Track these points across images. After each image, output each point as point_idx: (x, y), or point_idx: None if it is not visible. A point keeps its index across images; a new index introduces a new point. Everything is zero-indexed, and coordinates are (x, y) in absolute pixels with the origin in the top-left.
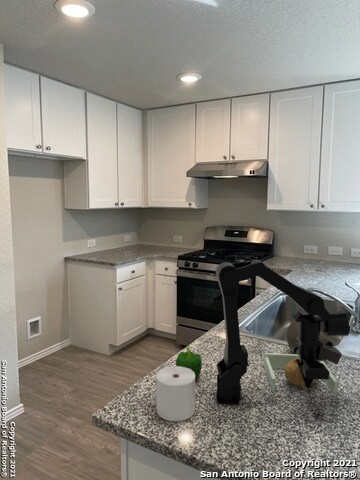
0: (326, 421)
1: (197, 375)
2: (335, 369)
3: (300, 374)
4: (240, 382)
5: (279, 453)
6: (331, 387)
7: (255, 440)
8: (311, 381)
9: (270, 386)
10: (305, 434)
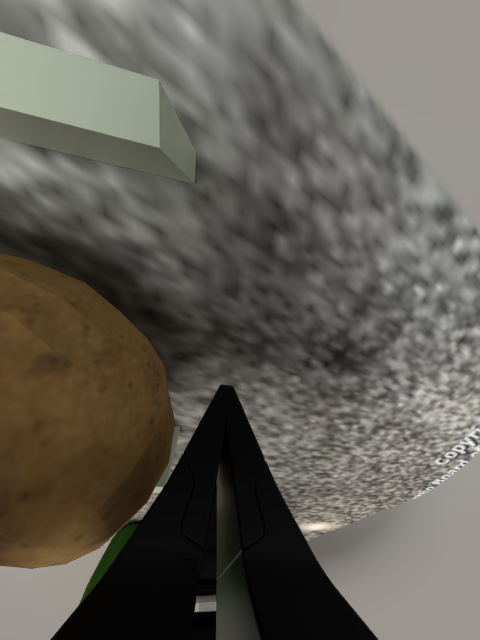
0: (387, 345)
1: None
2: None
3: (158, 478)
4: (210, 548)
5: (417, 463)
6: (123, 162)
7: (364, 481)
8: (252, 439)
9: None
10: (401, 415)
